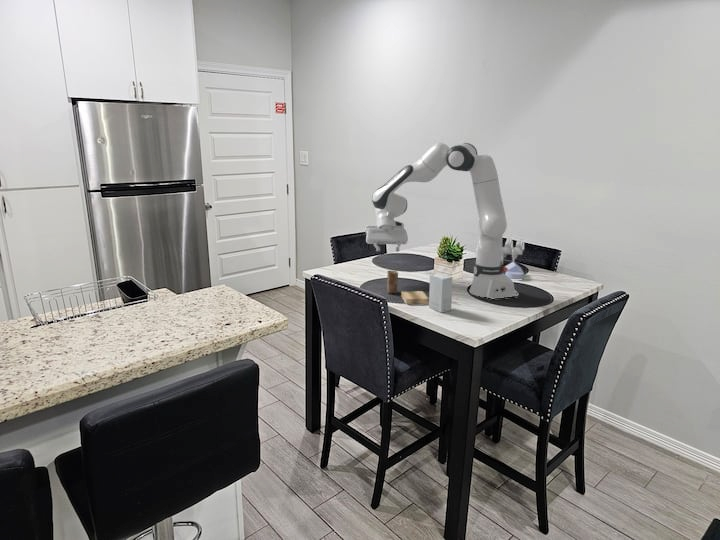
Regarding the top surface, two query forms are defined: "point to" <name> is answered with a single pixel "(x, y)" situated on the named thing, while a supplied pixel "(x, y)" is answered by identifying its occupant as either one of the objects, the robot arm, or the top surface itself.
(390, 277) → the walnut post
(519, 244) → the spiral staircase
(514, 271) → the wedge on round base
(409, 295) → the oak slab
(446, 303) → the skincare box
